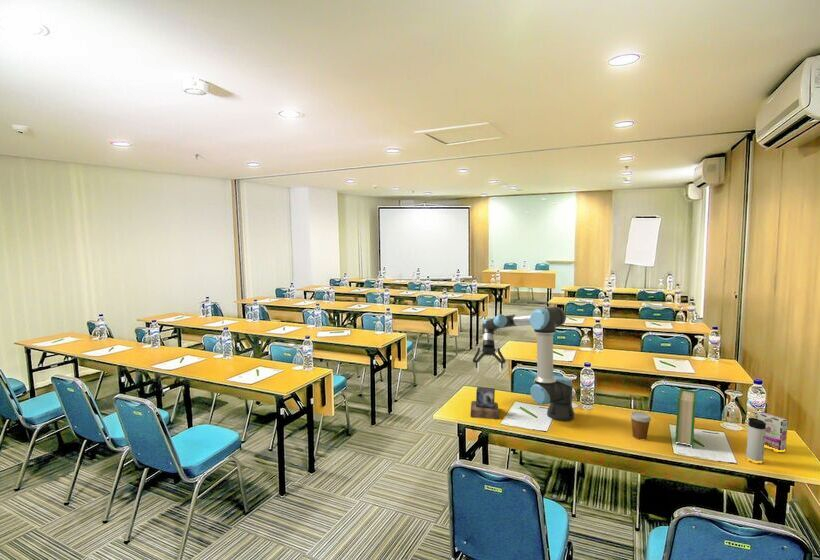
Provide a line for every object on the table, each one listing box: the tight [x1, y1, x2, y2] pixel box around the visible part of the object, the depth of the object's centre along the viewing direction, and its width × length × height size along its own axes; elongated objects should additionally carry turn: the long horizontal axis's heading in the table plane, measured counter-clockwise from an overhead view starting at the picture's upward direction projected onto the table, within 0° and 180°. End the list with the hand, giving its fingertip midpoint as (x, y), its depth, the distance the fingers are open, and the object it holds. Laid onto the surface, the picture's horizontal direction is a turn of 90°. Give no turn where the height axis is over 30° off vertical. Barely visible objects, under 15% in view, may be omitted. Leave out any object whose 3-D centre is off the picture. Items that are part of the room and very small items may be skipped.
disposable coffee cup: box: [629, 411, 652, 440], centre depth 223 cm, size 10×10×12 cm
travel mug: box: [745, 417, 766, 462], centre depth 198 cm, size 6×7×20 cm
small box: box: [475, 386, 496, 409], centre depth 254 cm, size 11×6×10 cm, turn 75°
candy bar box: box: [756, 411, 789, 450], centre depth 212 cm, size 11×5×16 cm, turn 21°
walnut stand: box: [470, 400, 500, 420], centre depth 254 cm, size 16×16×4 cm
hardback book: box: [674, 388, 697, 447], centre depth 220 cm, size 18×7×24 cm, turn 145°
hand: (489, 373), depth 264 cm, fingers open, 13 cm apart
